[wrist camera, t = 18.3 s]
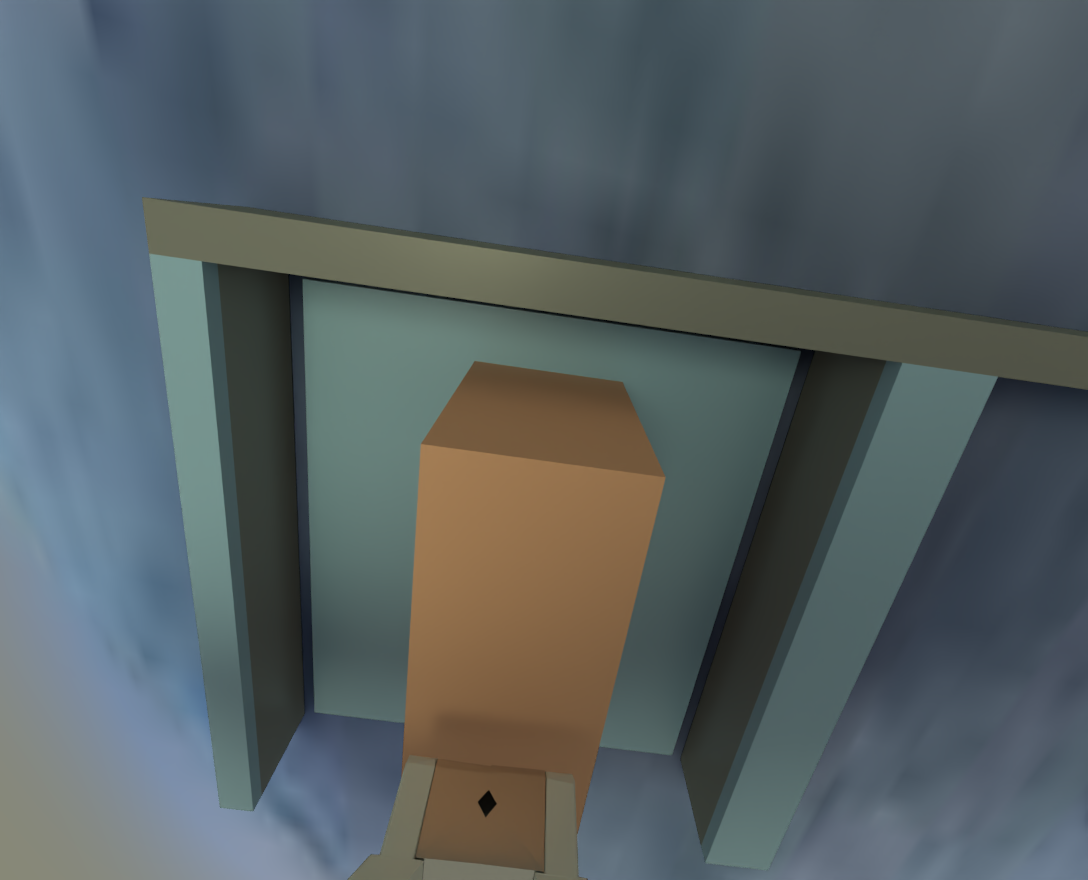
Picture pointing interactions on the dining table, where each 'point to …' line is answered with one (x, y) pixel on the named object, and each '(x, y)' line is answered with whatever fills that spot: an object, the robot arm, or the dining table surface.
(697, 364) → the gate frame with panel
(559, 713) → the long orange rectangular block
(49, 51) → the dining table surface
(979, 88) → the dining table surface
